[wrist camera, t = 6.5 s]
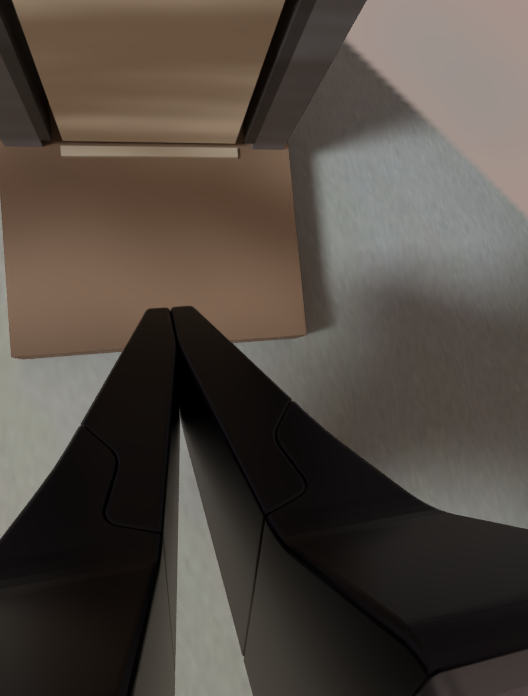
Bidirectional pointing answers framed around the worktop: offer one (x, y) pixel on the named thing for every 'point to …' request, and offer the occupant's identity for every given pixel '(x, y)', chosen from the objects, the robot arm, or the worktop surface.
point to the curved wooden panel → (149, 65)
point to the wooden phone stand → (156, 207)
